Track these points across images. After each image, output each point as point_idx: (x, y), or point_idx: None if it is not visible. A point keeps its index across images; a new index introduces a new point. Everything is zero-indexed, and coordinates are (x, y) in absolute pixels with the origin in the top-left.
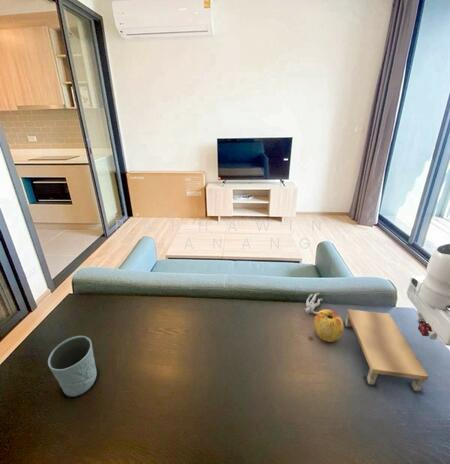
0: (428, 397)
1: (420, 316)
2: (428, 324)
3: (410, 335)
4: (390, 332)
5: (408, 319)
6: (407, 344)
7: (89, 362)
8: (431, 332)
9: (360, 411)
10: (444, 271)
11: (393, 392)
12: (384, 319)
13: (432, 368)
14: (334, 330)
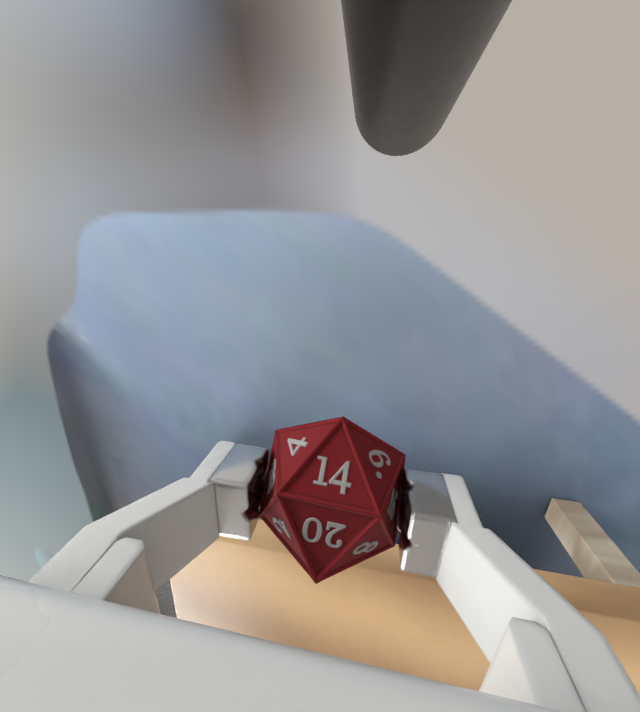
0: (614, 486)
1: (187, 544)
2: (303, 516)
3: (253, 344)
4: (333, 615)
5: (128, 279)
6: (430, 587)
7: None
8: (475, 630)
9: None
10: None
11: None
12: (224, 584)
13: (466, 363)
14: None
